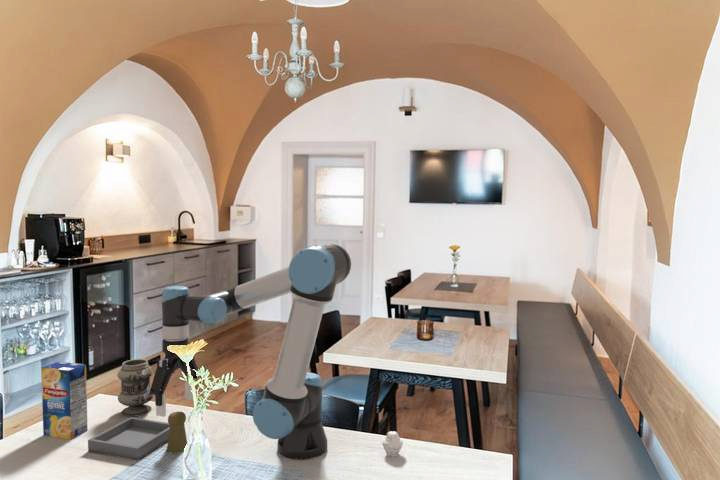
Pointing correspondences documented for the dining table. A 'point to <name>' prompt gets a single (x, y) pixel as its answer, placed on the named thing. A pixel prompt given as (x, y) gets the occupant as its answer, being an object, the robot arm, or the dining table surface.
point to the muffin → (392, 443)
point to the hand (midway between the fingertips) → (175, 407)
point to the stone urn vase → (135, 386)
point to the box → (130, 438)
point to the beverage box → (64, 399)
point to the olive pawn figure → (176, 432)
